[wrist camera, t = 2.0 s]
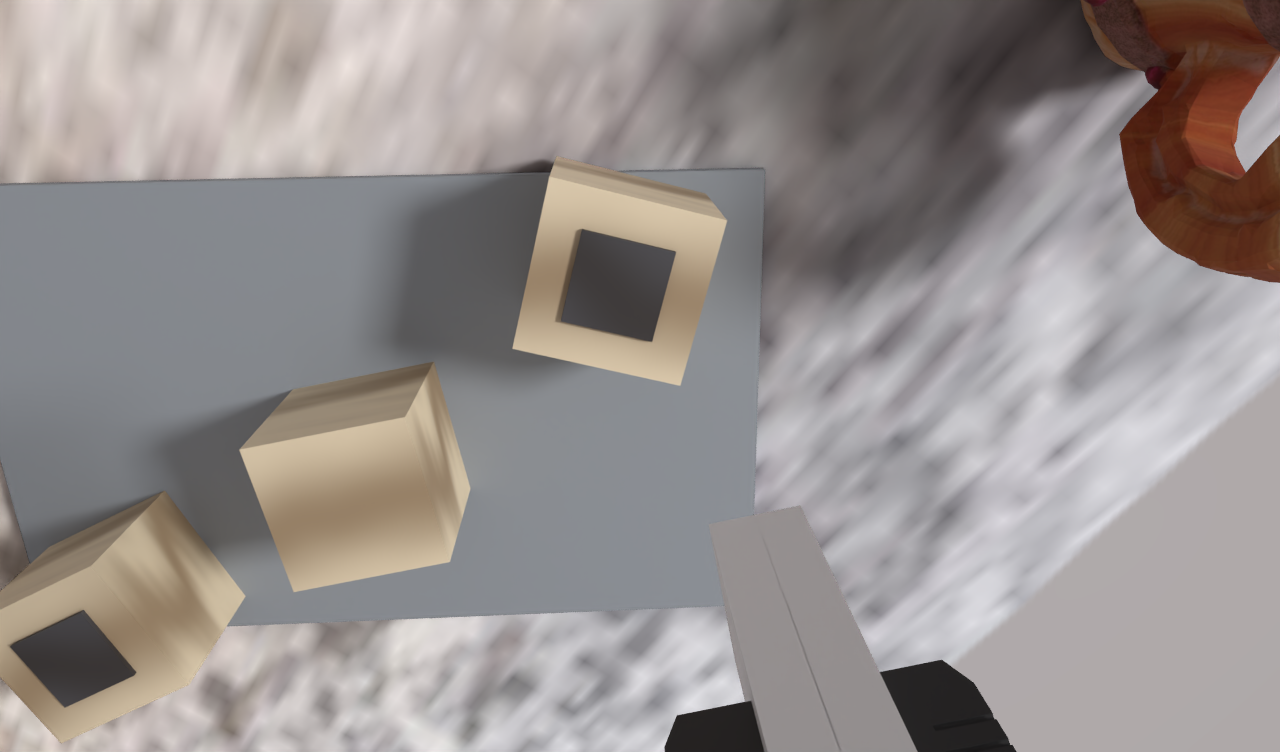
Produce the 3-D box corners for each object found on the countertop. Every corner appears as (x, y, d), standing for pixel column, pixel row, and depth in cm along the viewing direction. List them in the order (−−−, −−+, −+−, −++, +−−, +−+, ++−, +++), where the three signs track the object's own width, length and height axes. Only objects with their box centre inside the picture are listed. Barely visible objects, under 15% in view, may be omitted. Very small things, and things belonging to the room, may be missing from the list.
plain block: (292, 389, 37) (239, 449, 32) (433, 361, 37) (405, 417, 31) (336, 514, 39) (293, 592, 34) (470, 488, 39) (449, 561, 33)
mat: (-67, 185, 34) (-78, 187, 34) (762, 167, 36) (765, 169, 35) (57, 625, 41) (49, 633, 41) (748, 597, 42) (750, 604, 42)
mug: (1105, -217, 32) (1519, -433, 17) (1308, -155, 33) (1855, -312, 18) (964, 191, 36) (1199, 280, 22) (1145, 234, 37) (1480, 346, 23)
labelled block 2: (556, 156, 34) (549, 177, 29) (705, 193, 35) (728, 221, 29) (524, 302, 36) (511, 350, 31) (667, 335, 37) (680, 387, 31)
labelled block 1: (49, 546, 39) (-47, 633, 33) (164, 490, 38) (88, 568, 33) (134, 648, 41) (58, 747, 35) (245, 596, 40) (187, 688, 35)
